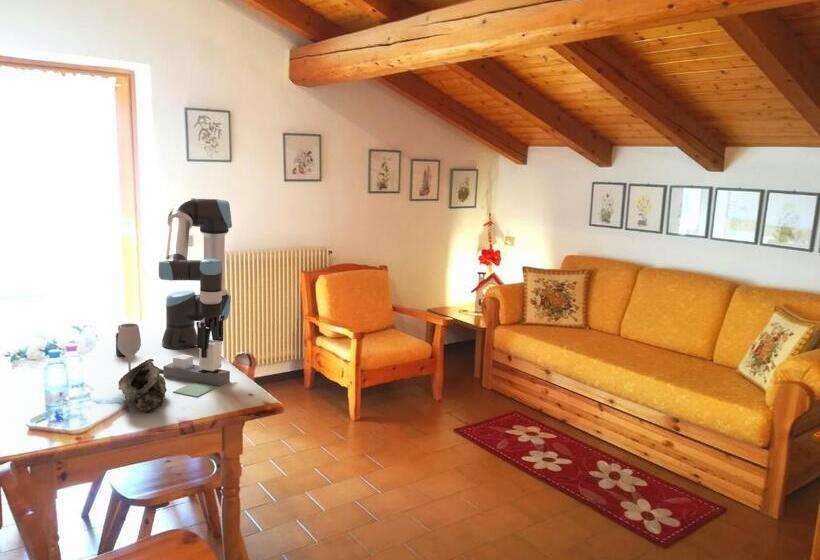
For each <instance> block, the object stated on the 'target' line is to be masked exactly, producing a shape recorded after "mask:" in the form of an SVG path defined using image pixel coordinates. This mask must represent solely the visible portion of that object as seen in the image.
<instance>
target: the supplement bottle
mask: <svg viewBox="0 0 820 560" xmlns="http://www.w3.org/2000/svg"><path fill="white" fill-rule="evenodd" d="M117 327H118V328H117V331H118V332H116V334H115V355H116V356H117V357H121V358H125V357H126V356H125V355H124V354H122V353H121V352H120V351H119V348H118V333H119V328H120V325H118V326H117ZM126 358H127V357H126Z"/></svg>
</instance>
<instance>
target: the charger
mask: <svg viewBox="0 0 820 560" xmlns="http://www.w3.org/2000/svg"><path fill="white" fill-rule="evenodd" d="M222 345H223V341H217V340H213V339H210V338H209V344H208V349H209V366H202V357H201V348H198V350H199V353H198V365H199V369H204V370H210V371H214V370H217V369H221V368H222V349H223V348H222Z"/></svg>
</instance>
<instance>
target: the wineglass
mask: <svg viewBox="0 0 820 560" xmlns="http://www.w3.org/2000/svg"><path fill="white" fill-rule="evenodd" d="M119 326H120V328H119V331H118V332H119V333H118V332H117V333H118V348H119V351H120V352H121V353H122V354H124V355H125V356H126V358H127V361H128V363H127V364H128V372H129V371H130V370H131V369H132V363H131V362H132V357H134V356H135V355H136V354H137V353H138V352H139V351H140V348H141V347H142V345H141V344H142V340H141V332H140V328H139V324H137V323H132V322H131V323H123V324H120V325H119Z"/></svg>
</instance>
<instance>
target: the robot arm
mask: <svg viewBox="0 0 820 560" xmlns="http://www.w3.org/2000/svg"><path fill="white" fill-rule="evenodd" d="M167 225H168V228H169V231H168V239H167V246H166V247H167V248H166V254H165V259H160V260H159V262H158V277H159V279H160V280H162V281H170V282H173V281H197V282H198V281H199V283H200V284H199V285H200V288H199V294H196V292H195V291H194V290H179V291H175V292H172V293H169V294H168V295H167V296H166V299H165V300H166V302H165V303H166V304H165V307H166V309H165V310H166V313H165V314H166V318H165V319H166V321H165V322H166V323H165V324H166V326H165V331H164V334H163V337H162V339H161V346H162V347H164V348H166V349H174V350H179V349H180V350H182V349H191V348H195V347H196V348H197V349H199V348H201V357H202V366H209V349H208V344H209V339H210V338H212V339H211V340H217V341H222V342H224V321H227V320H228V317H229V315H230V309H231V301H232V295H231V294H228V293H229V292H228V290H227V288H226V287H225V257H226V256H225V248H226V246H225V244H226V243H225V240H226V235H227V234H228V233H229V232H230V231H229V230H230V229H231V228H232V227H233V222H232V213H231V206H230V203H229V201H228V200H226V199H225V200H224V199H219V198H218V199H216V198H194V197H193V198H186V199H183V200H181V201H180V202H178V203H177V204H175V205H174V206H173V208H172V209H171V210H170V212H169V213H168V217H167ZM193 227H196V228H197V227H199V231H200V233H201V234H202V235H203V259H201V260H200V259H199V260H198V259H197V260H196V259H195V260H194V259H188V257H189V256H188V255H189V253H188V252H189V243H190V242H189V241H190V230H191V229H192V228H193ZM195 323H196V324H195ZM195 325H196V327H195ZM210 336H211V337H210Z"/></svg>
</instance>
